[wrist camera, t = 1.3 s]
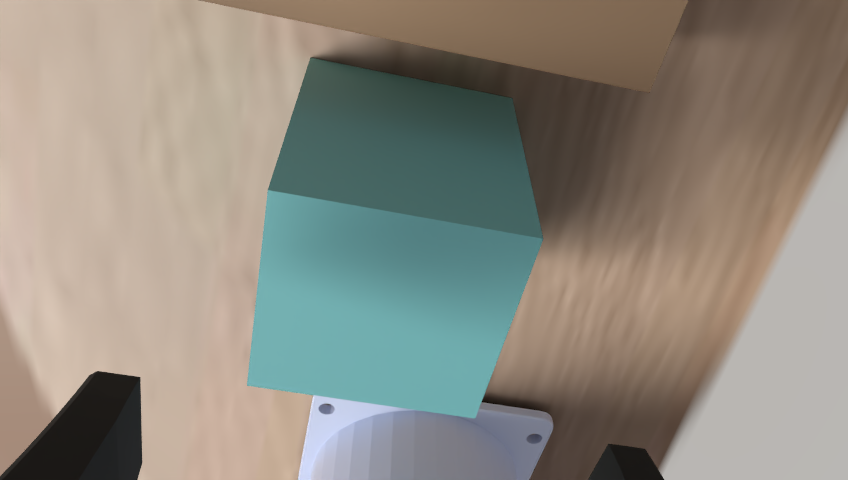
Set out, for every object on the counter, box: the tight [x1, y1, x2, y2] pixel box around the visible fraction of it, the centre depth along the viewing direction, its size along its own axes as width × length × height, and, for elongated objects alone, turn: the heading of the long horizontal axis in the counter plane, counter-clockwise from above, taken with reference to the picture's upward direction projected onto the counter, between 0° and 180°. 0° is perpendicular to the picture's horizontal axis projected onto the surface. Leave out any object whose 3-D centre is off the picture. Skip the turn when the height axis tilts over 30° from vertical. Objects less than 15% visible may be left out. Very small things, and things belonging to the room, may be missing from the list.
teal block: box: [247, 58, 543, 419], centre depth 17 cm, size 5×5×6 cm
